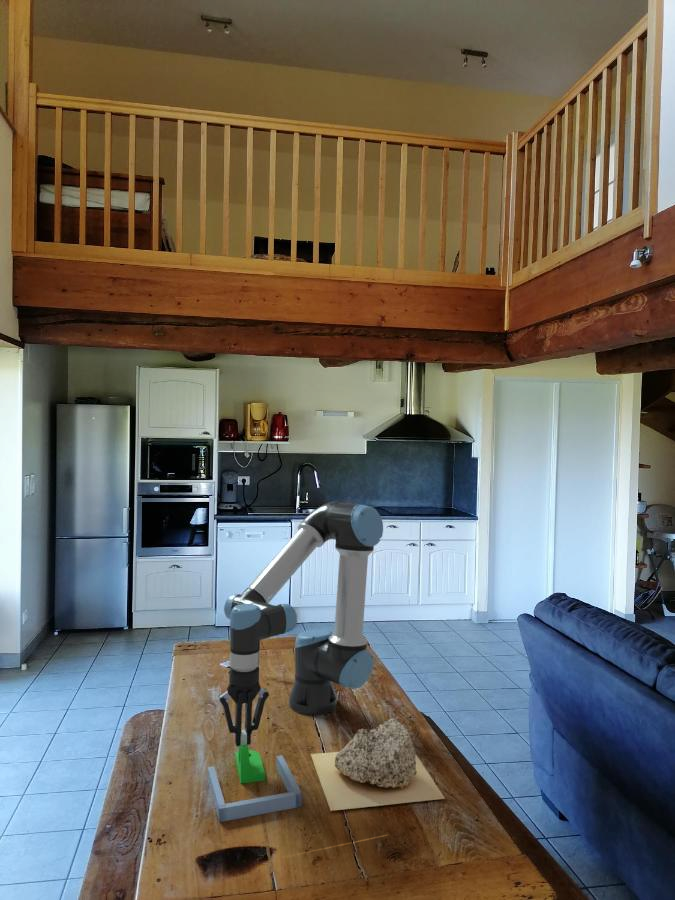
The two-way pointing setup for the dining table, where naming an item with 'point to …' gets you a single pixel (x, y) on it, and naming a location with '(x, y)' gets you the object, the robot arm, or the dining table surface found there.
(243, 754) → the mechanical part
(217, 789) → the hub cradle
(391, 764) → the rock
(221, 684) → the dining table surface
